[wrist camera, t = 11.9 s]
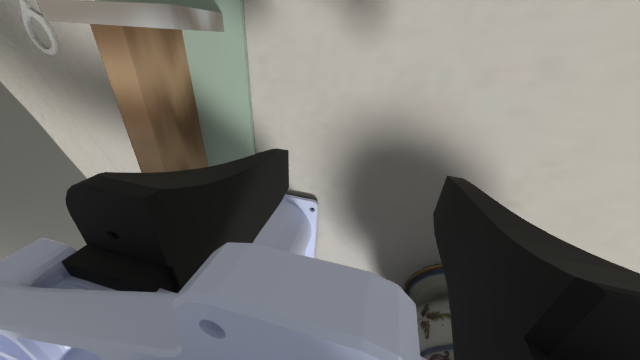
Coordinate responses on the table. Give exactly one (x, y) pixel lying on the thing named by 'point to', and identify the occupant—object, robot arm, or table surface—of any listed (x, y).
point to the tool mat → (219, 80)
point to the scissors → (26, 18)
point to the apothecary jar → (432, 312)
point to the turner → (148, 73)
